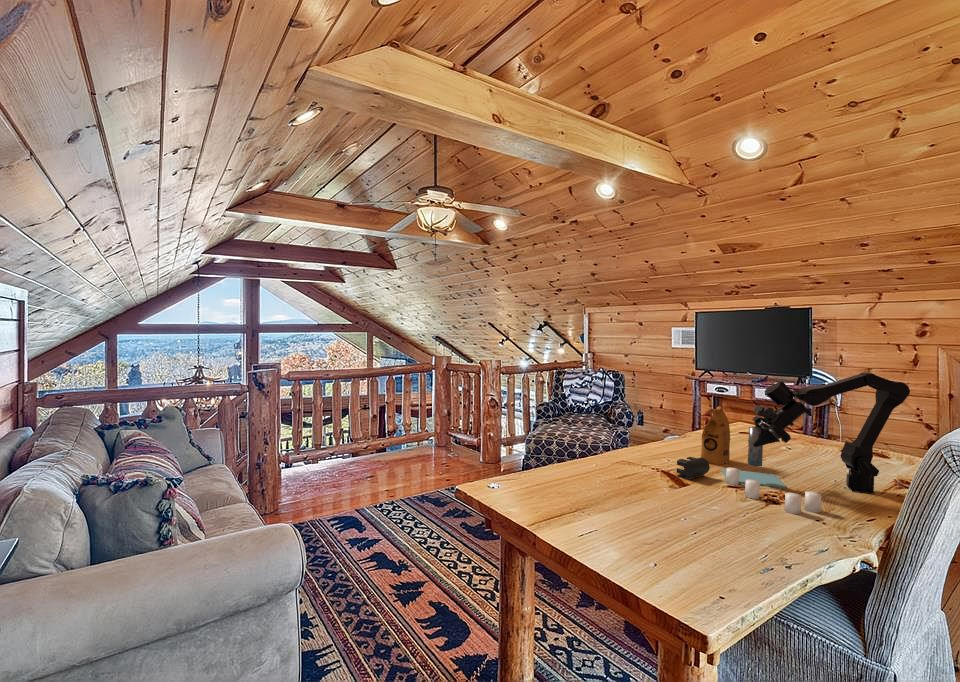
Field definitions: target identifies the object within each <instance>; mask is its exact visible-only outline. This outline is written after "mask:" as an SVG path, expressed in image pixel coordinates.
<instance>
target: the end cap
mask: <svg viewBox="0 0 960 682" xmlns="http://www.w3.org/2000/svg"><path fill="white" fill-rule="evenodd" d="M676 466H680V467H683V469H682V468H676V473H677V474H676V476H677V478H681V479H684V480H693V479H695V478H699V477H702V476H704V475H706V474H708V473H709V471H710V468H711V467H710V463H708V461H707V460H706V459H704V458H702V457H701V456H700V457H698V458H697V457H693V456H687V457H686V459H685V458H679V459H677V460H676Z"/></svg>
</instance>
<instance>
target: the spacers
mask: <svg viewBox="0 0 960 682" xmlns="http://www.w3.org/2000/svg"><path fill="white" fill-rule="evenodd" d="M725 469H726V478H725V483H726V484H728V485H731V486H739V485H740V483H739V471H740V469H739V468H737V467H726V468H725ZM744 485H745V486H744V497H745V498H747V497H748V499H751V498H752V499H753V500H759V499H760V492H761V491H760V487H761V485H760V482H759V481H756V480H749V479H748V480H746V481H745V484H744ZM804 493H805V494H804V507H803V508H804V510H805V511H807V512H810V513H816V514H820V513H821V512H822V494H821V493H819V492H816V491H809V490H808V491H805V492H804ZM784 497H785V498H784V511H785V512H786V513H788V514H791V515H800V514H801V513H802V498H803V496H802V495H801V494H798V493H795V492H785V494H784Z"/></svg>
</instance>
